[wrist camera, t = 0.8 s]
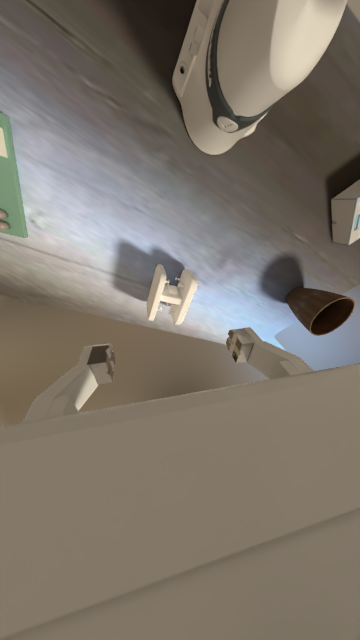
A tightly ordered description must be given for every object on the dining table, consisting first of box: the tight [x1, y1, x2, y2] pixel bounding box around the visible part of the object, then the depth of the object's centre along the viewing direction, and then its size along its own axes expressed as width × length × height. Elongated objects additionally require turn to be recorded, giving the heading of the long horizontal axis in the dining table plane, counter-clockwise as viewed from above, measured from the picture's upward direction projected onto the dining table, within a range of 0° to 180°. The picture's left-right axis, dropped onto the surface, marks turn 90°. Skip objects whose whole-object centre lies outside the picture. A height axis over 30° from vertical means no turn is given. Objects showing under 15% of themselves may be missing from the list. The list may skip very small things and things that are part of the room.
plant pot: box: [287, 288, 355, 336], centre depth 60 cm, size 15×15×16 cm
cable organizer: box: [147, 264, 198, 325], centre depth 49 cm, size 15×11×12 cm
